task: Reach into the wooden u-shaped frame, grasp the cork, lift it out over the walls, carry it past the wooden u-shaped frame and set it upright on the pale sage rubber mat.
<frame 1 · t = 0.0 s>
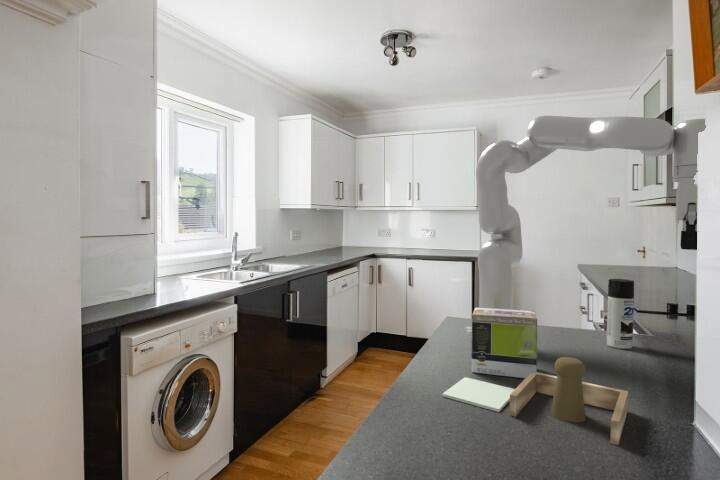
hand: (689, 248, 100), 31 cm above the countertop, fingers open, 9 cm apart
mat: (480, 394, 92), on the countertop
spray can: (618, 347, 128), on the countertop
cork: (567, 416, 82), on the countertop
wooden u-shaped frame: (569, 413, 83), on the countertop
tea box: (502, 371, 107), on the countertop
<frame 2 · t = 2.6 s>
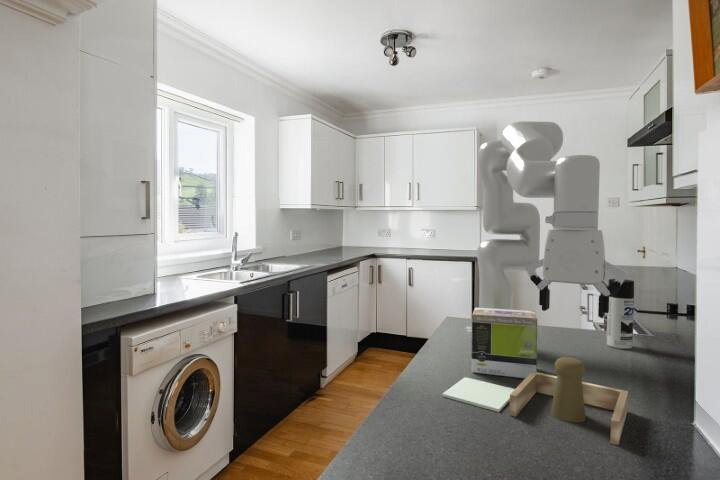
hand: (572, 312, 81), 20 cm above the countertop, fingers open, 9 cm apart
nothing on the countertop moved.
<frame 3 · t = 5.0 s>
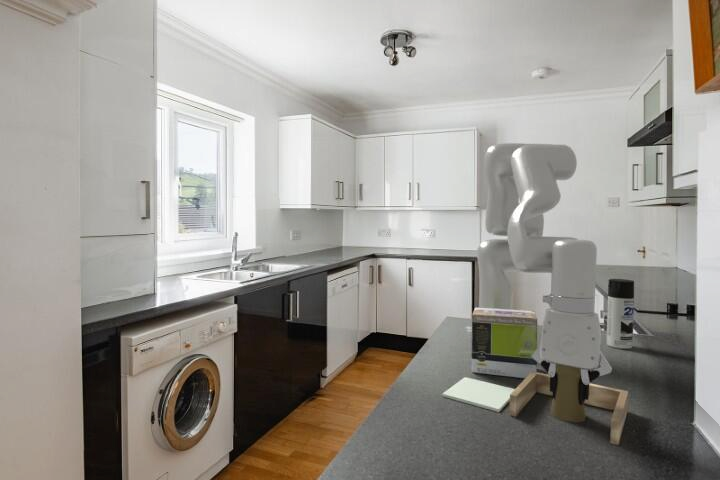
hand: (568, 398, 82), 3 cm above the countertop, fingers closed on cork, 3 cm apart
cork: (567, 416, 82), on the countertop, touching gripper
everything else where it was.
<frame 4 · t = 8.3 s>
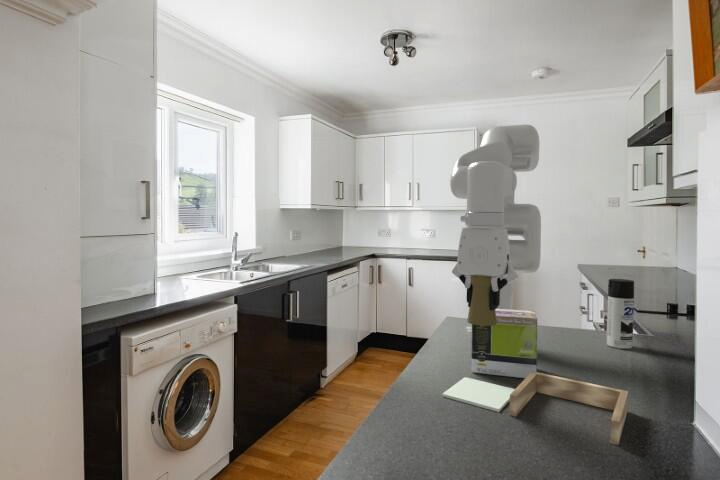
hand: (482, 306, 91), 19 cm above the countertop, fingers closed on cork, 3 cm apart
cork: (481, 323, 91), point 15 cm above the countertop, touching gripper
everything else where it was.
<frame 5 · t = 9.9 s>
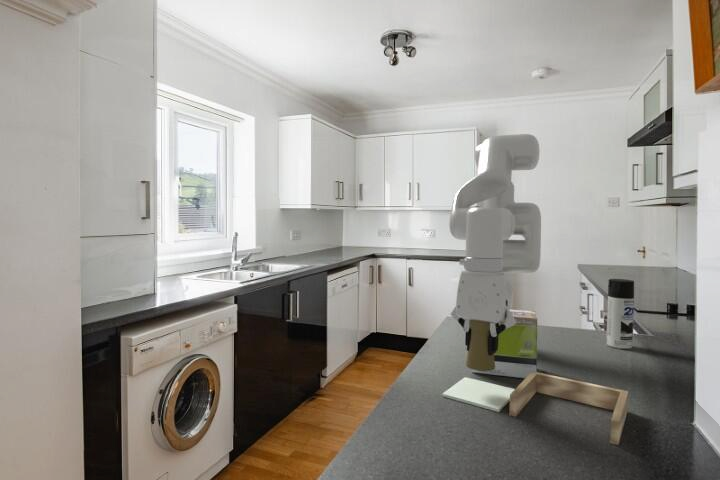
hand: (481, 350, 91), 9 cm above the countertop, fingers closed on cork, 3 cm apart
cork: (480, 367, 91), point 6 cm above the countertop, touching gripper
everything else where it was.
when the fingers open (5 cm above the countertop, at t = 11.5 s): cork drops 1 cm, resting on mat.
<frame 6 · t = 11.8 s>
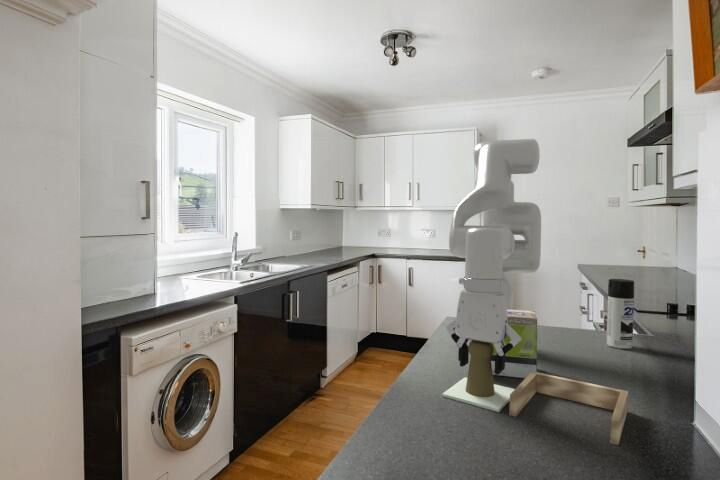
hand: (480, 368, 91), 6 cm above the countertop, fingers open, 7 cm apart
cork: (479, 392, 92), resting on mat
everything else where it was.
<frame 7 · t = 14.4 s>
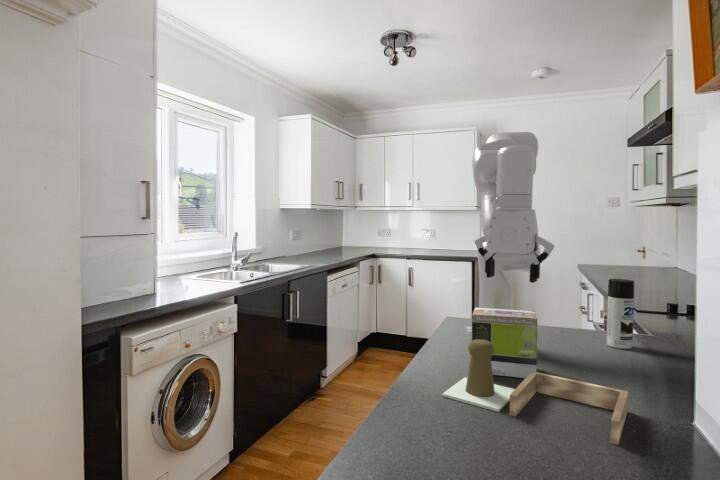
hand: (511, 279, 96), 24 cm above the countertop, fingers open, 9 cm apart
nothing on the countertop moved.
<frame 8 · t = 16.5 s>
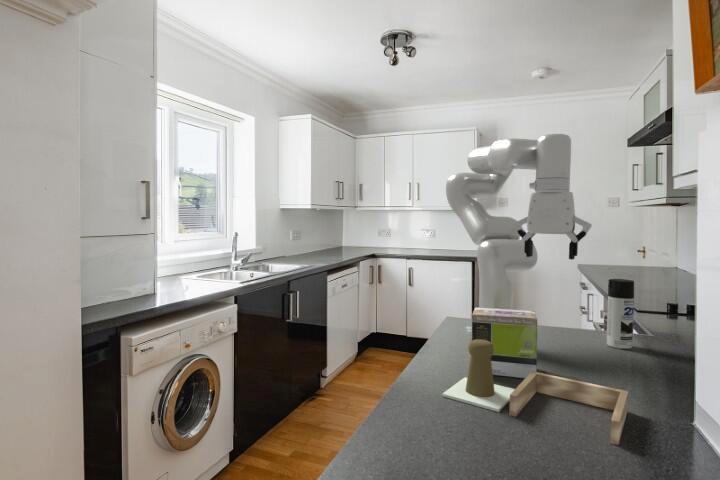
hand: (550, 257, 104), 28 cm above the countertop, fingers open, 9 cm apart
nothing on the countertop moved.
at the end: cork inside the target area on the mat (0.1 cm from its centre), point 0.4 cm above the mat's base; cork tilted 0°; the gripper is holding nothing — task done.
